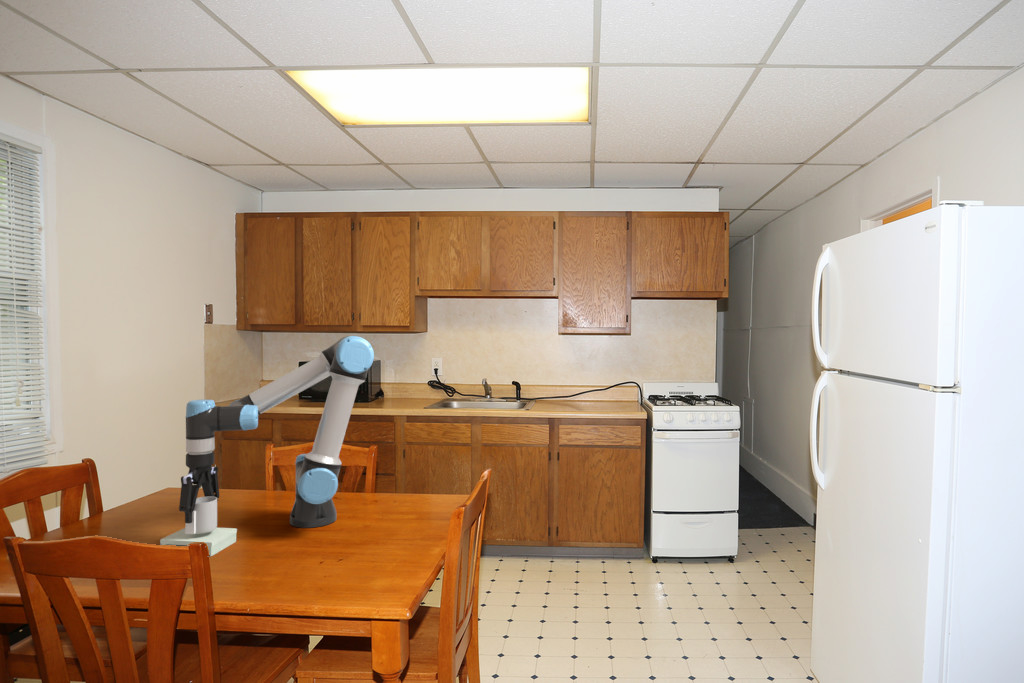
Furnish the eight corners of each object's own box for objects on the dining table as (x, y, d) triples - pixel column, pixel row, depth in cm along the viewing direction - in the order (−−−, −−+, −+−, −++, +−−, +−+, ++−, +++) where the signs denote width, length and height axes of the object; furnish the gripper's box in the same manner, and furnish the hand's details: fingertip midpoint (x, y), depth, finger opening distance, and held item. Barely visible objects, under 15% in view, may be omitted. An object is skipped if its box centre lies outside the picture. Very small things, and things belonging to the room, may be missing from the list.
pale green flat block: (236, 541, 174) (236, 528, 174) (211, 556, 162) (211, 542, 162) (188, 538, 176) (188, 526, 176) (160, 553, 164) (160, 539, 164)
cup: (194, 535, 164) (194, 505, 164) (182, 527, 170) (182, 498, 170) (221, 529, 169) (221, 499, 169) (208, 521, 176) (208, 493, 176)
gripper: (210, 445, 179) (210, 517, 180) (163, 458, 159) (163, 540, 159) (232, 445, 178) (232, 518, 179) (188, 459, 158) (188, 541, 158)
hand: (199, 528), depth 169 cm, fingers closed on cup, 7 cm apart
